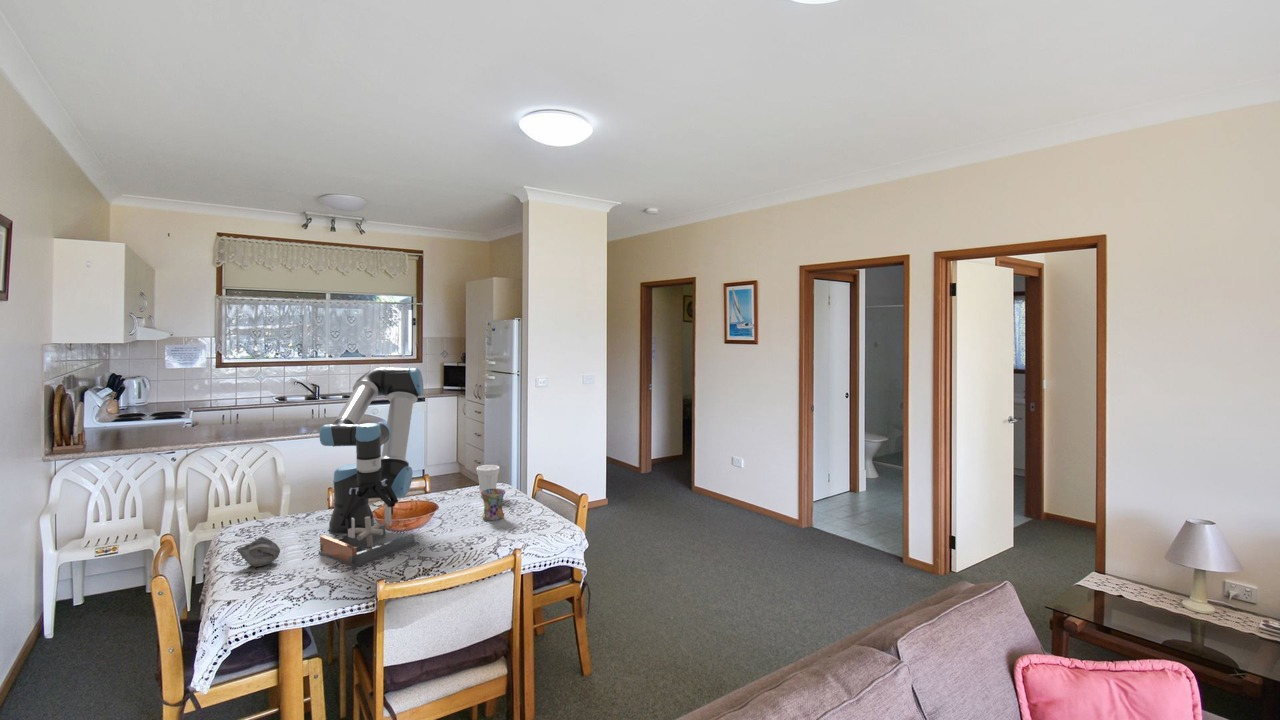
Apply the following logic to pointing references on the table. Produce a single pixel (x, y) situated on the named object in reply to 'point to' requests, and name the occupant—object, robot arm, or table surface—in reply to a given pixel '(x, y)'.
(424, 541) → the table surface
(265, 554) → the fossil
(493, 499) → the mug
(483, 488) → the cup
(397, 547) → the guide channel
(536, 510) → the table surface
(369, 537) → the pipe connector
